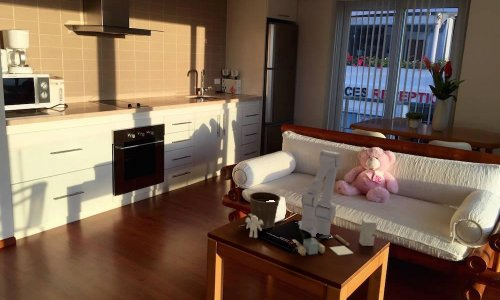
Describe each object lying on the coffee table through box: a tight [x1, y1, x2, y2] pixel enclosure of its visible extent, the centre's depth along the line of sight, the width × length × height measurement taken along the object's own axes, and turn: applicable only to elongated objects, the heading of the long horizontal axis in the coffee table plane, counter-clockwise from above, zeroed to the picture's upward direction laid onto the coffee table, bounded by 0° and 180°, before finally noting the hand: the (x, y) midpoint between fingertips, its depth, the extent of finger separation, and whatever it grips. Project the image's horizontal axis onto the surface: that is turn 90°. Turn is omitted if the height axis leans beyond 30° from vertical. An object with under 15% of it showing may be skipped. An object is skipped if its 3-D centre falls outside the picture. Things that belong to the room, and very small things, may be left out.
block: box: [302, 237, 319, 255], centre depth 207 cm, size 6×4×5 cm
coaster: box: [329, 245, 354, 256], centre depth 210 cm, size 8×8×1 cm
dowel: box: [334, 234, 350, 247], centre depth 220 cm, size 12×2×2 cm, turn 21°
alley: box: [291, 237, 326, 256], centre depth 210 cm, size 11×12×3 cm
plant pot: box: [248, 191, 281, 230], centre depth 233 cm, size 16×16×16 cm
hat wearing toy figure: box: [245, 213, 263, 239], centre depth 219 cm, size 9×4×12 cm, turn 74°
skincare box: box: [358, 219, 377, 247], centre depth 219 cm, size 6×4×12 cm
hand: (305, 244), depth 212 cm, fingers closed
